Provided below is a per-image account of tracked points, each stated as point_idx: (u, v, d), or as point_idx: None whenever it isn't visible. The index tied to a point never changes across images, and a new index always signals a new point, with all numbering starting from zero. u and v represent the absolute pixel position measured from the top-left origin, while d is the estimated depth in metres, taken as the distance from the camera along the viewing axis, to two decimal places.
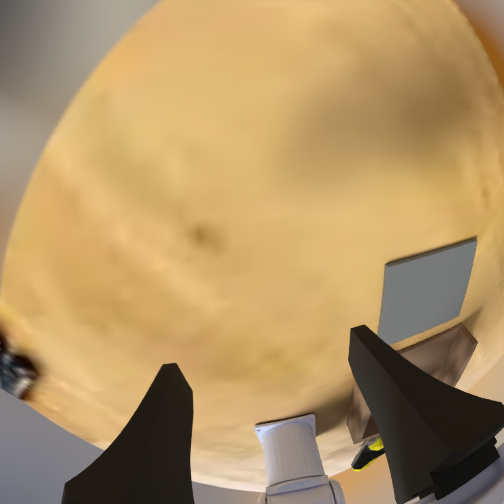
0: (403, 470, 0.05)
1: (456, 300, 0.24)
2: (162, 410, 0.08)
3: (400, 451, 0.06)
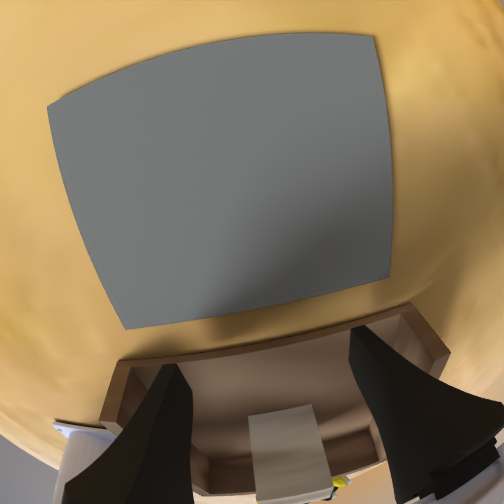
0: (404, 470, 0.05)
1: (361, 222, 0.10)
2: (162, 410, 0.08)
3: (400, 451, 0.06)
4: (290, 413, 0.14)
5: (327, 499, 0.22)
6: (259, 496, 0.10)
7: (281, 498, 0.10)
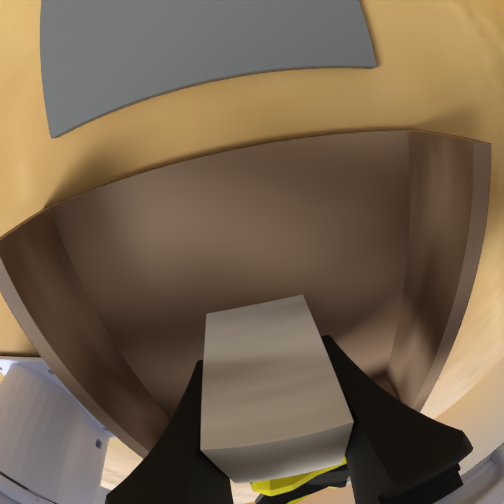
0: (360, 487, 0.05)
1: None
2: None
3: (356, 468, 0.06)
4: (270, 307, 0.11)
5: (341, 486, 0.19)
6: (205, 440, 0.06)
7: (248, 448, 0.06)
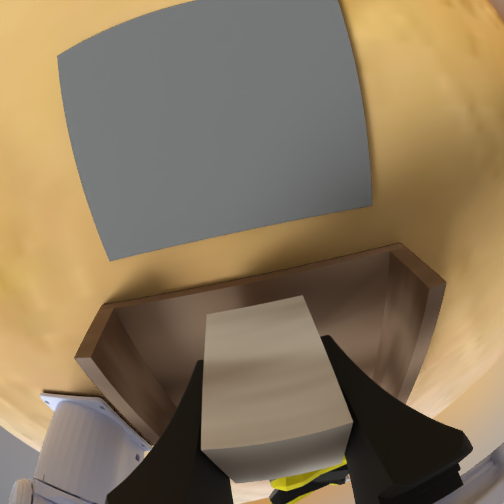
0: (360, 487, 0.05)
1: (336, 144, 0.10)
2: None
3: (356, 468, 0.06)
4: (270, 308, 0.11)
5: (340, 483, 0.23)
6: (206, 440, 0.06)
7: (249, 448, 0.06)
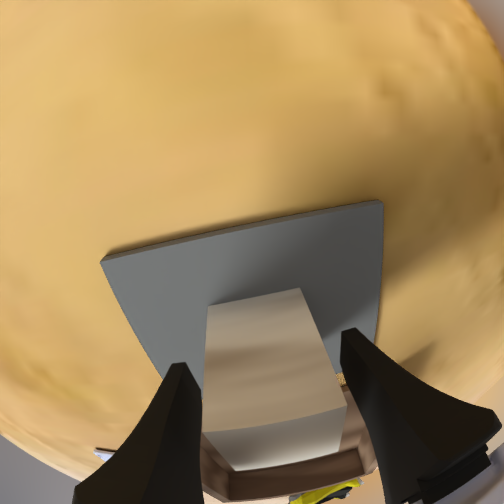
0: (393, 474, 0.05)
1: None
2: (173, 410, 0.08)
3: (389, 456, 0.06)
4: (269, 299, 0.11)
5: (342, 497, 0.26)
6: (207, 423, 0.06)
7: (248, 430, 0.06)
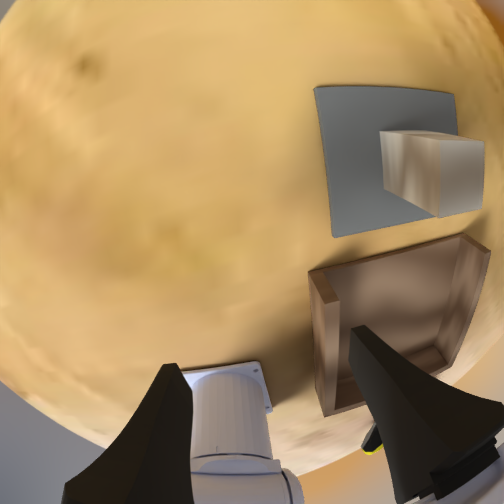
0: (404, 470, 0.05)
1: None
2: (162, 410, 0.08)
3: (400, 451, 0.06)
4: (412, 130, 0.15)
5: None
6: (437, 139, 0.10)
7: (455, 144, 0.10)
